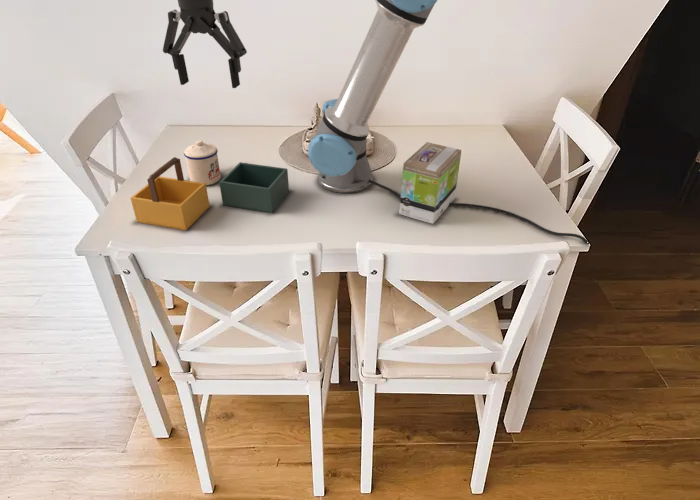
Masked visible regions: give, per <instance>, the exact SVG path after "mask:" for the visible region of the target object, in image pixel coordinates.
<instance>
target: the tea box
mask: <svg viewBox="0 0 700 500" xmlns="http://www.w3.org/2000/svg"><path fill="white" fill-rule="evenodd" d="M461 157H462V149H459V148H455V147H450V146H446V145H441V144H437V143H432V142H428V141H426V142H425V143H424V144H423V145H422V146H421V147H419V149H417V150H416V151H415V152H414V153H413V154H411V156H410V157H408V158H407V160H405V161H404V162H403V166H402V167H403V168H402V175H401V177H402V178H401V188H400V195H401V199H400V198H399V201H400V202H399V211H398V214H399V215H401V216H405V217H408V218H411V219H413V220H418V221H421V222H424V223H428V224H432V225H434V223H436V221H437V220H438V219H439V218H440V216H441V215H442V214H443V213H444V212H445V210H446V209H447V208H448V207H449V203H453V201H454V200H455V198H456V192H457V184H458V178H459V177H458V176H459V171H460V164H461Z"/></svg>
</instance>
